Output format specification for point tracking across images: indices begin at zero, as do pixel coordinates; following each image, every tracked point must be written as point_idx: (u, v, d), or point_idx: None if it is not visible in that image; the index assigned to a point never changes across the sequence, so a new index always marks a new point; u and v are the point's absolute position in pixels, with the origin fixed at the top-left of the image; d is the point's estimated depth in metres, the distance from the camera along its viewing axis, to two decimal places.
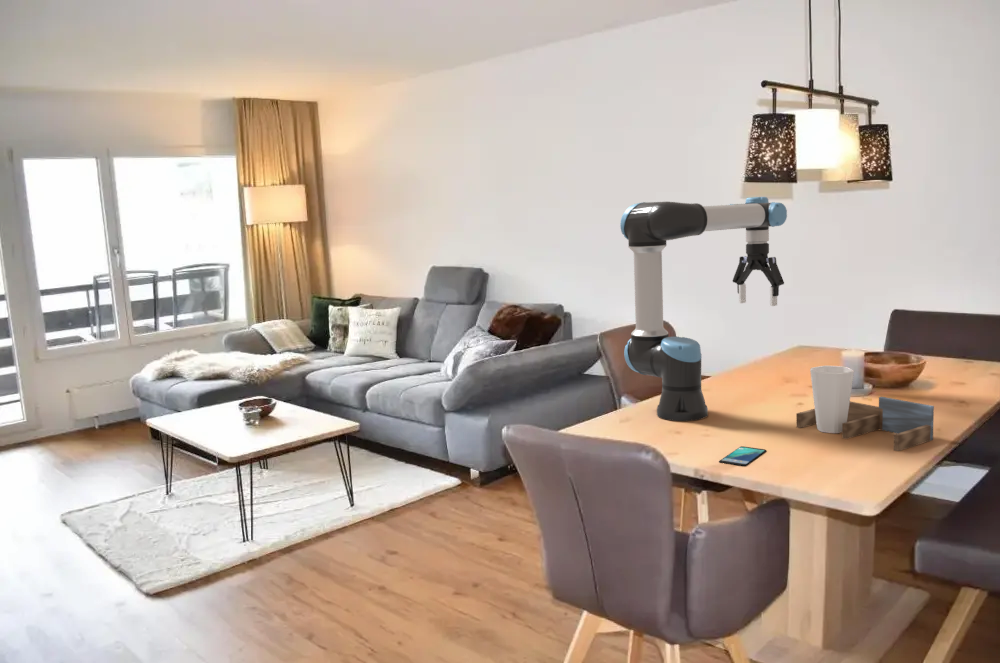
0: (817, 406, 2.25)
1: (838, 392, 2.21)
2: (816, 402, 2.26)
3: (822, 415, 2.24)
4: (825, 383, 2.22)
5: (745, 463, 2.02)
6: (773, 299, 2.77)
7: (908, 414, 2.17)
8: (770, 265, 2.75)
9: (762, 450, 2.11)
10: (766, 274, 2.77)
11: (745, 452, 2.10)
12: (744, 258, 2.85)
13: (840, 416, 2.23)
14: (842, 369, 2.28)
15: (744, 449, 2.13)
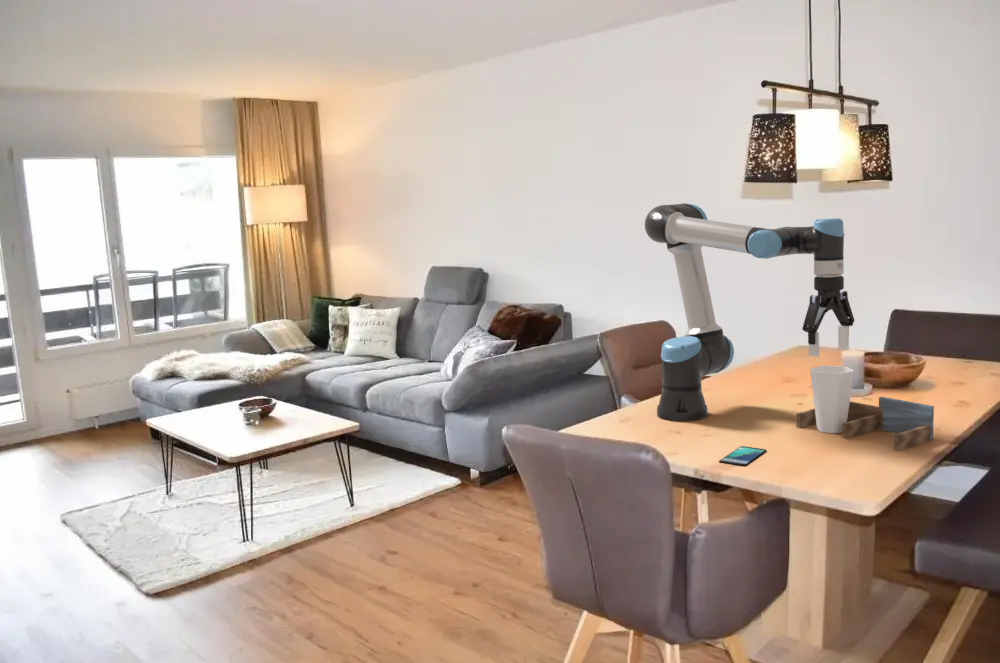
0: (817, 406, 2.25)
1: (838, 392, 2.21)
2: (816, 402, 2.26)
3: (822, 415, 2.24)
4: (825, 383, 2.22)
5: (745, 463, 2.02)
6: (810, 347, 2.23)
7: (908, 414, 2.17)
8: None
9: (762, 450, 2.11)
10: None
11: (745, 452, 2.10)
12: None
13: (840, 416, 2.23)
14: (842, 369, 2.28)
15: (744, 449, 2.13)
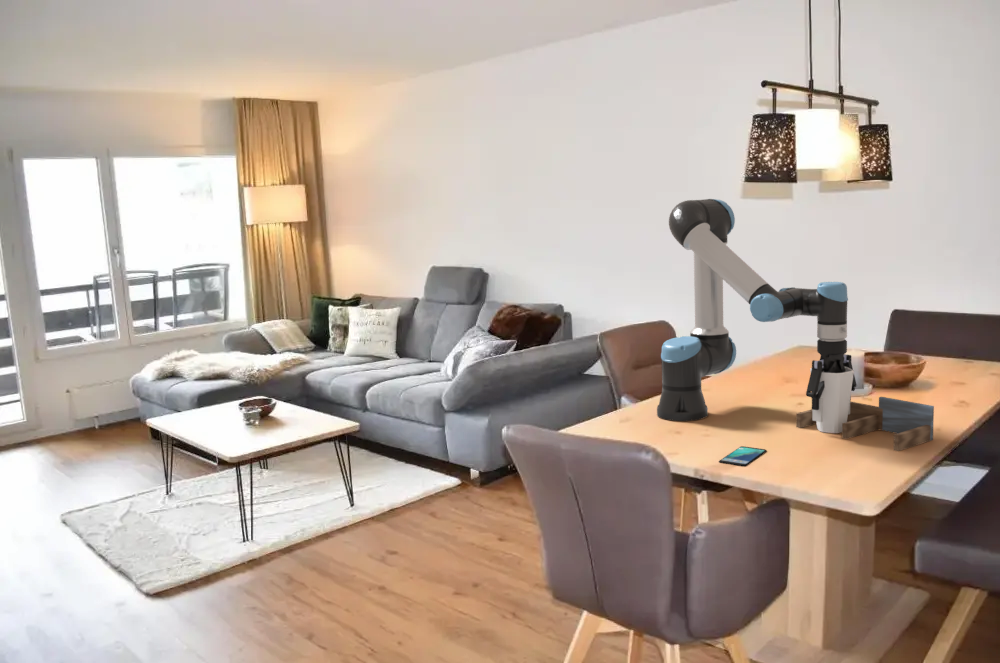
0: None
1: (838, 392, 2.21)
2: None
3: None
4: (825, 383, 2.22)
5: (745, 463, 2.02)
6: (814, 412, 2.24)
7: (908, 414, 2.17)
8: None
9: (762, 450, 2.11)
10: None
11: (745, 452, 2.10)
12: None
13: (840, 416, 2.23)
14: None
15: (744, 449, 2.13)
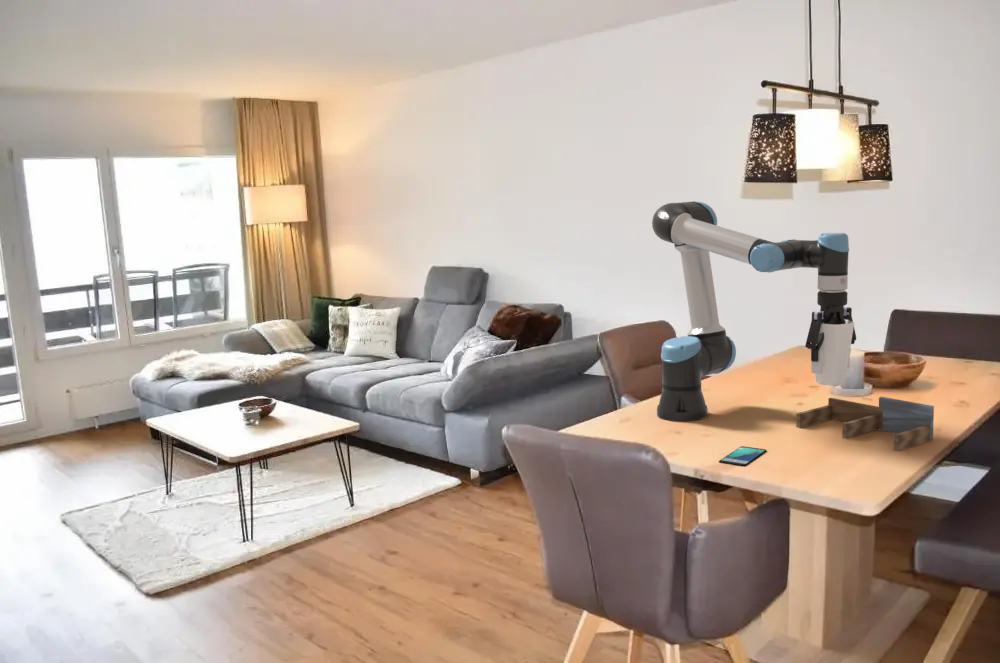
0: None
1: (838, 343, 2.19)
2: None
3: None
4: (825, 335, 2.20)
5: (745, 463, 2.02)
6: (813, 364, 2.22)
7: (908, 414, 2.17)
8: None
9: (762, 450, 2.11)
10: None
11: (745, 452, 2.10)
12: None
13: (840, 368, 2.21)
14: None
15: (744, 449, 2.13)
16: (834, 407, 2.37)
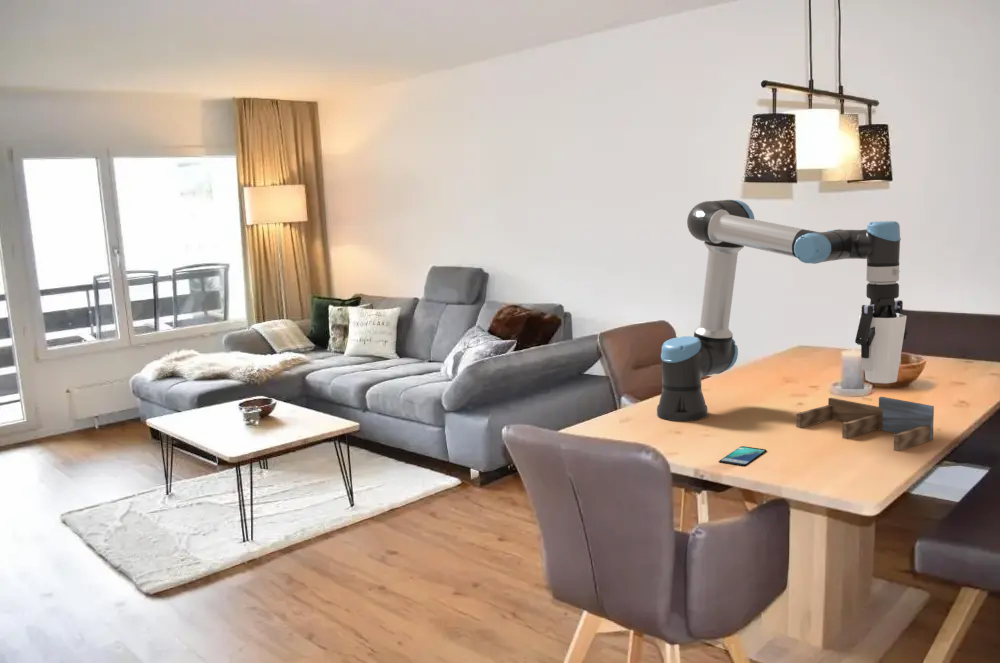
0: None
1: (890, 338, 2.06)
2: None
3: None
4: (876, 329, 2.07)
5: (745, 463, 2.02)
6: (863, 361, 2.09)
7: (908, 414, 2.17)
8: None
9: (762, 450, 2.11)
10: None
11: (745, 452, 2.10)
12: None
13: (892, 364, 2.08)
14: None
15: (744, 449, 2.13)
16: (834, 407, 2.37)
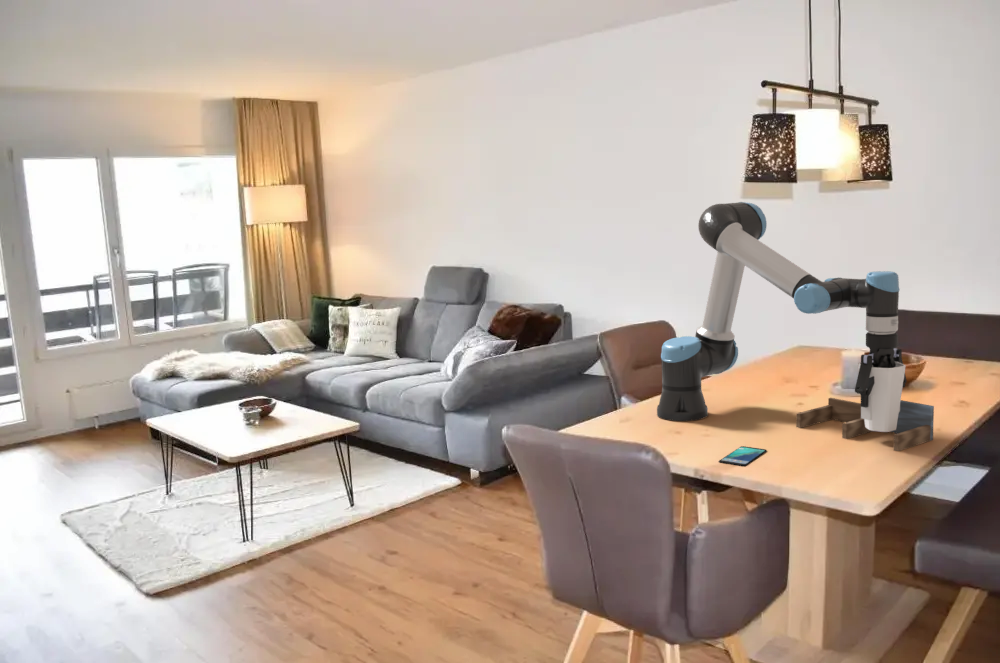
0: None
1: (889, 388, 2.08)
2: None
3: None
4: (875, 379, 2.09)
5: (745, 463, 2.02)
6: (863, 410, 2.11)
7: (908, 414, 2.17)
8: None
9: (762, 450, 2.11)
10: None
11: (745, 452, 2.10)
12: None
13: (891, 413, 2.10)
14: None
15: (744, 449, 2.13)
16: (834, 407, 2.37)
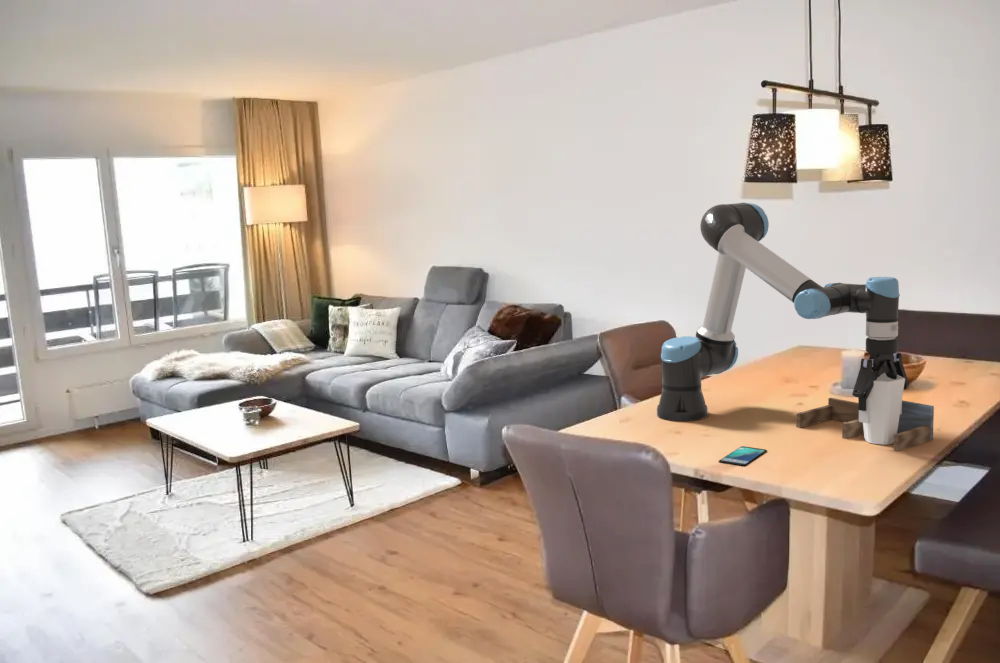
0: None
1: (888, 401, 2.08)
2: None
3: (871, 425, 2.12)
4: (875, 392, 2.09)
5: (745, 463, 2.02)
6: (861, 413, 2.10)
7: (908, 414, 2.17)
8: None
9: (762, 450, 2.11)
10: None
11: (745, 452, 2.10)
12: None
13: (891, 426, 2.10)
14: None
15: (744, 449, 2.13)
16: (834, 407, 2.37)
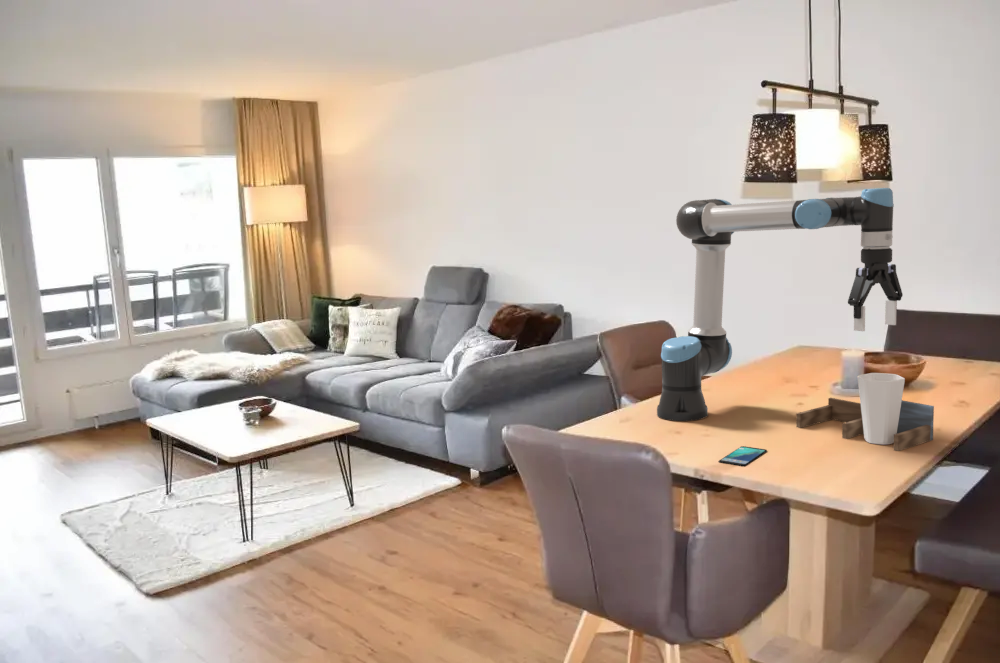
0: (865, 416, 2.13)
1: (888, 401, 2.08)
2: (864, 411, 2.14)
3: (871, 425, 2.12)
4: (874, 391, 2.09)
5: (744, 463, 2.02)
6: (856, 321, 2.15)
7: (908, 414, 2.17)
8: None
9: (762, 450, 2.11)
10: None
11: (745, 452, 2.10)
12: None
13: (890, 426, 2.10)
14: (891, 377, 2.15)
15: (745, 449, 2.13)
16: (834, 407, 2.37)
